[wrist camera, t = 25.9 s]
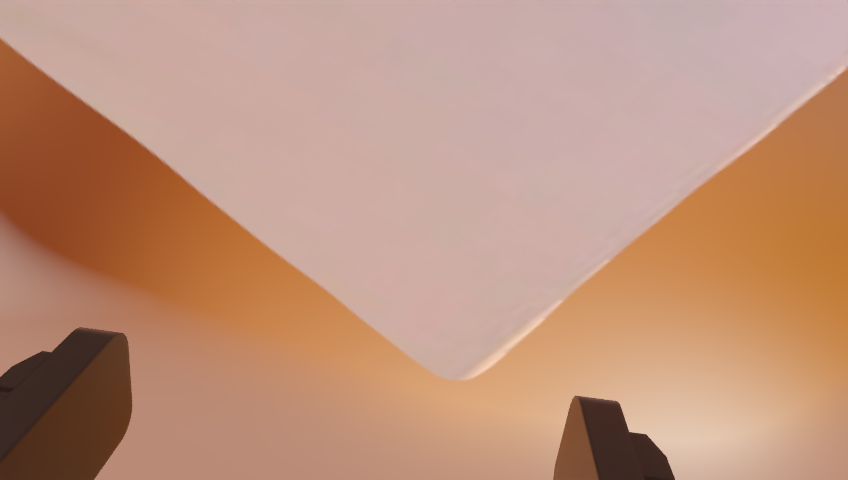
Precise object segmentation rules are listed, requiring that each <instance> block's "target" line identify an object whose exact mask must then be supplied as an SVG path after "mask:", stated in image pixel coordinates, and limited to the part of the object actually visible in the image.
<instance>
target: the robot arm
mask: <svg viewBox="0 0 848 480" xmlns="http://www.w3.org/2000/svg"><path fill="white" fill-rule="evenodd" d="M131 412H132V393H131V379H130V364H129V348H128V341H127V338H126V336H125V335H124V334H123V333H118V332H111V331H104V330H96V329H89V328H81V327H80V328H77V329H76V330H74V331H73V332H72V333H71V334H70V335H69V336H68V337H67V338H66V339H65V340H64V341H63V342H62V343H61V344H60V345H58V347H56V348H55V349H54V350H53V351H52V352H45V351H42V352H40V353H38V354H36V355H34V356H32V357H30V358H28V359H26V360H24V361H22V362H20V363H18V364H16V365H14V366H12V367H11V368H10V369H9V370H8V371H7V372H6V373H4V374H3V375H2V376H1V377H0V480H94V479H95V477H96V476H97V474H98V473H99V471H100V470H101V469H102V467H103V466H104V465H105V463H106V462H107V460H108V459H109V457H110V456H111V455H112V453H113V451H114V450H115V449H116V447H117V446H118V445H119V443H120V442H121V440H122V439H123V437H124V435H125V433H126V430H127V428H128V425H129V422H130V418H131ZM554 480H675V478H674V476H673V473H672V471H671V468H670V465H669V463H668V460H667V457H666V456H665V455H664V454H663V453H662V452H661V450H660V449H659V448H658V447H657V446H656V445H655V444H654V443H653V442H652V441H651V439H650V438H649V437H648V436H647V435H646V434H639V433H632V432H629V430H628V427H627V424H626V422H625V418H624V415H623V412H622V409H621V407H620V404H619V403H618V402H617V401H611V400H604V399H596V398H588V397H581V396H575V397H574V398H573V399H572V402H571V405H570V409H569V412H568V416H567V420H566V424H565V428H564V432H563V436H562V440H561V444H560V448H559V452H558V456H557V461H556V464H555V470H554Z"/></svg>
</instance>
